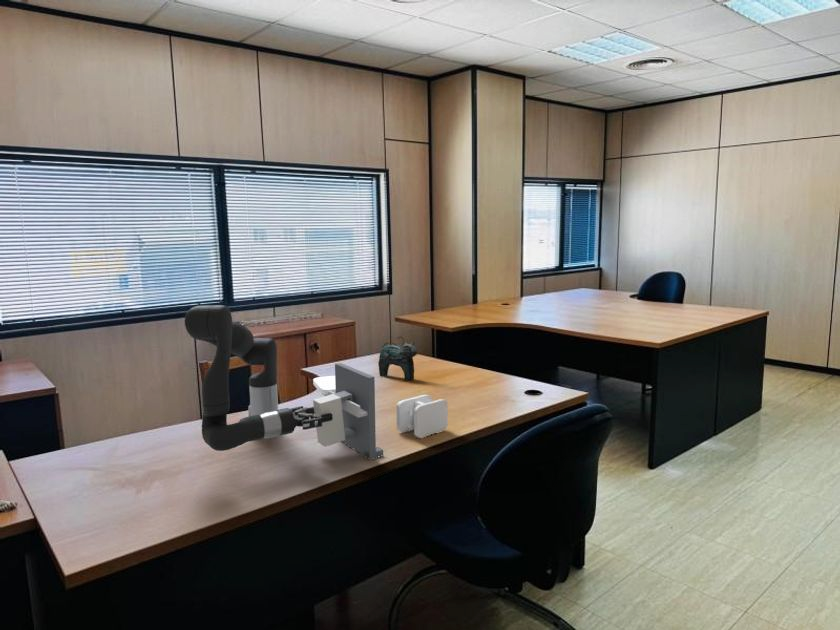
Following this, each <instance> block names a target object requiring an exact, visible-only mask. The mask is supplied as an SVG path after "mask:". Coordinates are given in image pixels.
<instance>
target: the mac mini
mask: <svg viewBox="0 0 840 630" xmlns="http://www.w3.org/2000/svg"><path fill="white" fill-rule="evenodd" d="M312 380H313V381H312V382H313V386H314V387H315V388H316V389H317V390H318V392H319V391H320V392H321V393H320V392H319V393H320V394H321V395H323V394H325V395H324V396H328V391H332V392H334V393H336V385H335V375H329V376H328V375H326V376H317V377H315V378H313V379H312Z"/></svg>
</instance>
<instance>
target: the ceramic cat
mask: <svg viewBox="0 0 840 630" xmlns="http://www.w3.org/2000/svg"><path fill="white" fill-rule="evenodd" d="M399 338H401V339H402V341H403V342H402V345H400V344H397V343H394V342H385V343H384V344H383V346H382V349H381V351H380V353H379V356H378V357H379V359H378V372H379V376H380V377H383V378H385V377H388V376H389V375H388V374H389V368H390V366H392V365H394V366H397V367H399V368H401V369H402V372H403V375H404V377H403V380H404V381H410V382H411V381H413V380H414V379H415V364H414V357H416V356H417V354H418V348H417V346H416V343H415V342H414V341H412V342H411V343H407V342H406V341H405V340H404V337H403V336H398V337H397V338H396V339H397V340H399ZM387 344H393V345H387Z"/></svg>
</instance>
